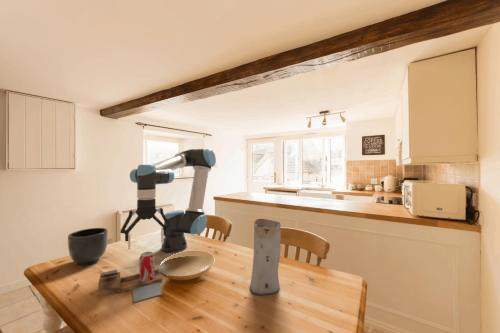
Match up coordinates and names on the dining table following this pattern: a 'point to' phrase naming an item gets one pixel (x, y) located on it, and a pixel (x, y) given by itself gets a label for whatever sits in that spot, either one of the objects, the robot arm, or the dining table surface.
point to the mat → (146, 292)
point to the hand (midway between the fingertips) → (146, 245)
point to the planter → (87, 245)
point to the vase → (266, 257)
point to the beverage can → (147, 266)
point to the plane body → (113, 283)
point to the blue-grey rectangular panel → (109, 273)
